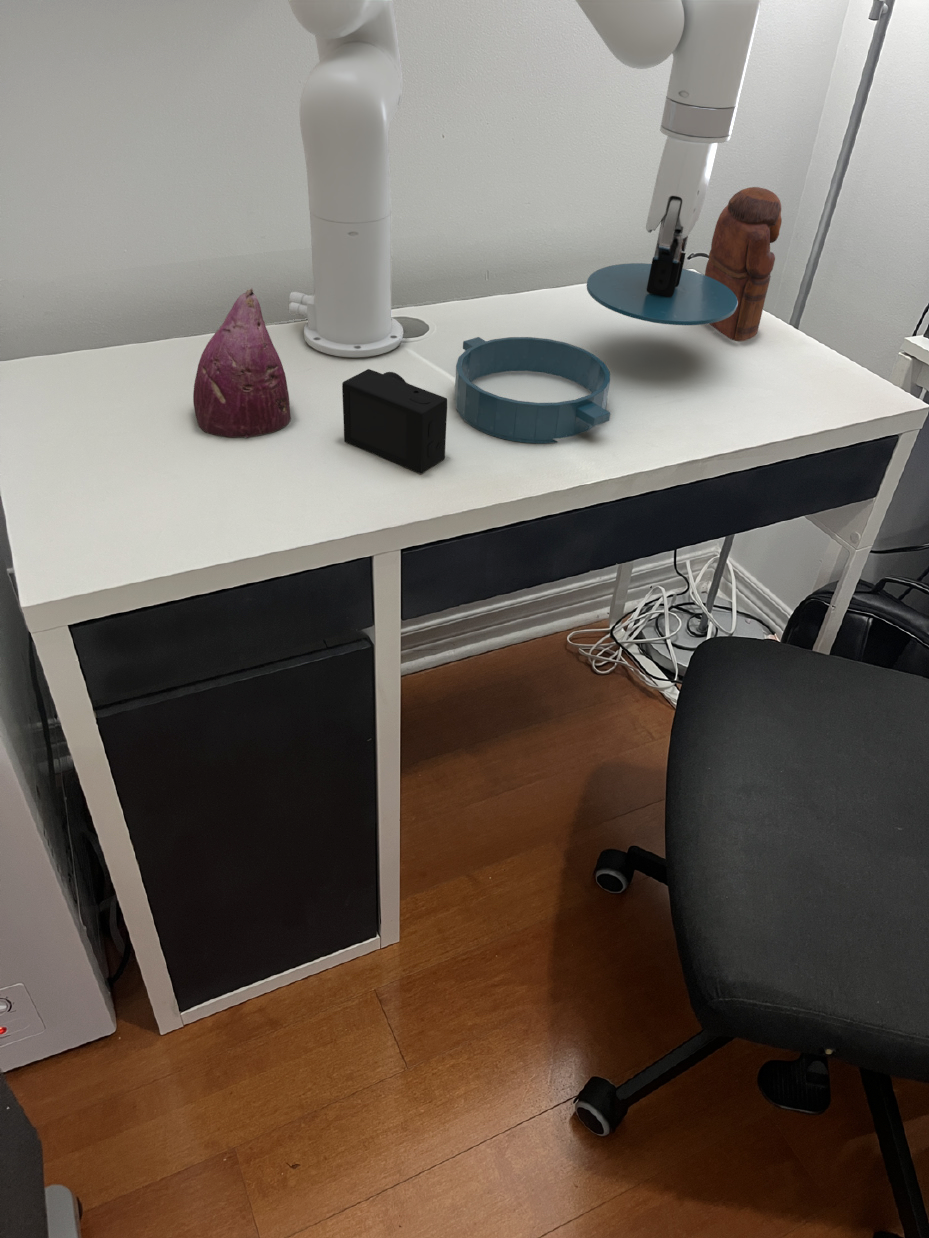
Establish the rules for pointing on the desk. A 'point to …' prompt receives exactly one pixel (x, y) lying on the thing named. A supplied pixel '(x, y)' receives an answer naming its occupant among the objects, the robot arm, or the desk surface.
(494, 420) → the tin
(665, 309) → the tin lid
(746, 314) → the wooden figurine
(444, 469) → the desk surface
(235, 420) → the vegetable
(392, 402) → the digital camera
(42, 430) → the desk surface
